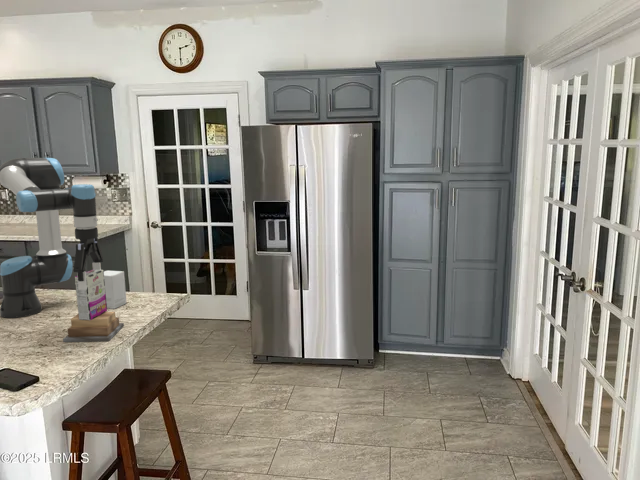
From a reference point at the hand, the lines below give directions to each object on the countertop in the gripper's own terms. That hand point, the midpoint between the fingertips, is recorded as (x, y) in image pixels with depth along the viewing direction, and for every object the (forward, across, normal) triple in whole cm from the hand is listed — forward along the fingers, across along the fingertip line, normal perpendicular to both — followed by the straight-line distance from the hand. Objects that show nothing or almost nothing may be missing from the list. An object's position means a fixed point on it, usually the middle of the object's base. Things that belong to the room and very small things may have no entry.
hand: (90, 284), depth 183 cm
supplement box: (+20, +34, +6) cm, 40 cm away
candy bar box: (+12, -1, 0) cm, 12 cm away
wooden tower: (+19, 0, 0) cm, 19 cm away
